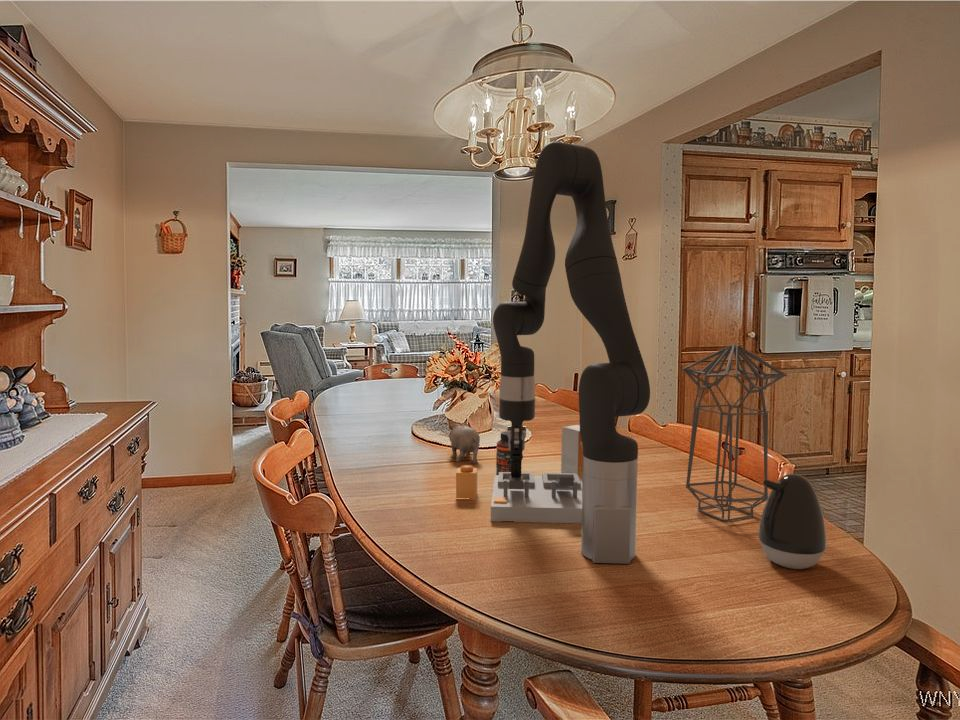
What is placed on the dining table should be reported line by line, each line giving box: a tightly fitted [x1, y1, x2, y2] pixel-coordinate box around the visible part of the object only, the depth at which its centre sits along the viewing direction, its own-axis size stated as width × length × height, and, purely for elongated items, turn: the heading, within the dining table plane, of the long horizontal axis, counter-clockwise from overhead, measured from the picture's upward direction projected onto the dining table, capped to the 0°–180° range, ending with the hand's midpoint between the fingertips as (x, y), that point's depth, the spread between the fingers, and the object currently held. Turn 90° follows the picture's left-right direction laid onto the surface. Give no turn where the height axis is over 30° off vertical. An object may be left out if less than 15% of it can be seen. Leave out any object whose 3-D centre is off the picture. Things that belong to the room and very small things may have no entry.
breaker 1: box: [509, 476, 523, 489], centre depth 134 cm, size 11×3×2 cm, turn 177°
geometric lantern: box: [681, 344, 788, 522], centre depth 132 cm, size 16×16×35 cm
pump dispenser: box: [758, 473, 827, 570], centre depth 107 cm, size 10×10×15 cm
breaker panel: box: [490, 471, 582, 524], centre depth 138 cm, size 23×20×6 cm
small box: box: [560, 424, 583, 481], centre depth 158 cm, size 8×6×13 cm
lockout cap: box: [455, 464, 478, 500], centre depth 144 cm, size 4×4×7 cm
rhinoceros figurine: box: [448, 423, 481, 465], centre depth 179 cm, size 8×14×15 cm
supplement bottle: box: [495, 430, 511, 475], centre depth 159 cm, size 6×6×11 cm
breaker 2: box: [556, 477, 574, 489], centre depth 133 cm, size 11×3×2 cm, turn 177°
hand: (516, 476), depth 138 cm, fingers closed
